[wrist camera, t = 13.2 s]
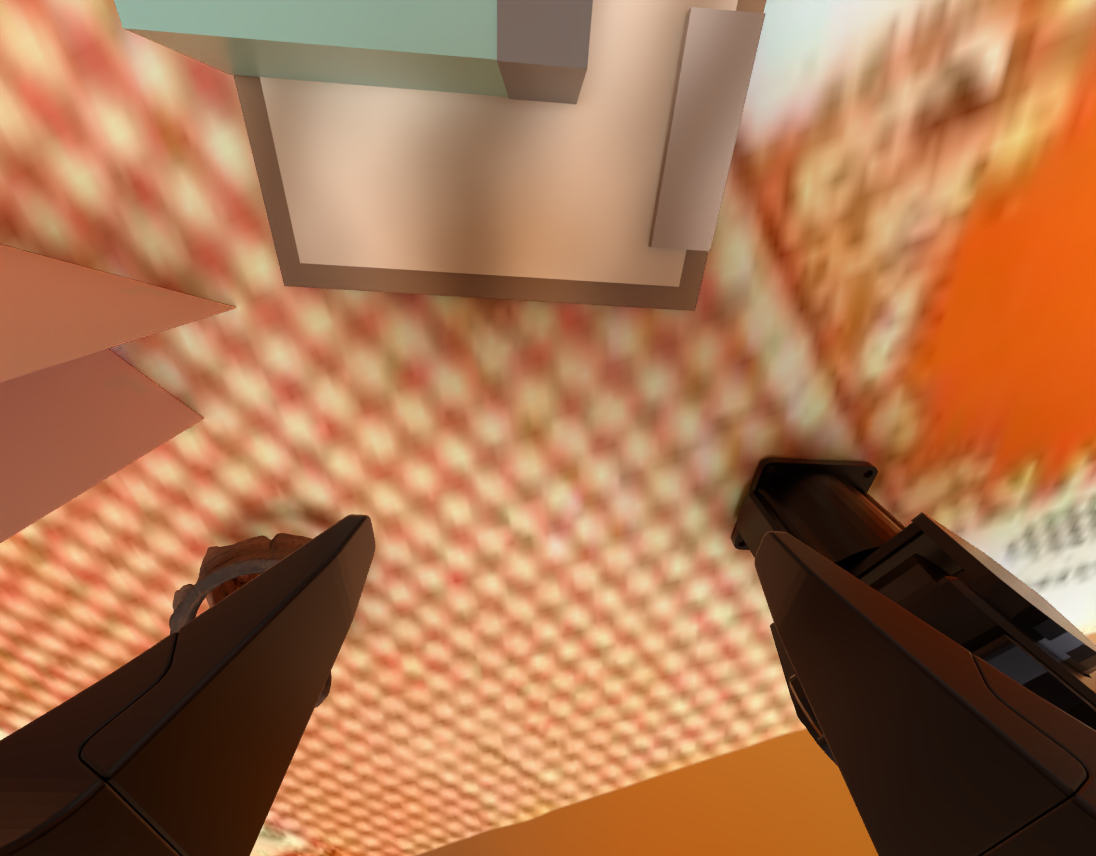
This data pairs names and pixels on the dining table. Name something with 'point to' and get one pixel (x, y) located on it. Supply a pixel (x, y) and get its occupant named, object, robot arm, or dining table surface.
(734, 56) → the clipboard
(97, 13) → the dining table surface
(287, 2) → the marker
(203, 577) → the pottery mug
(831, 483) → the robot arm
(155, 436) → the greeting card
